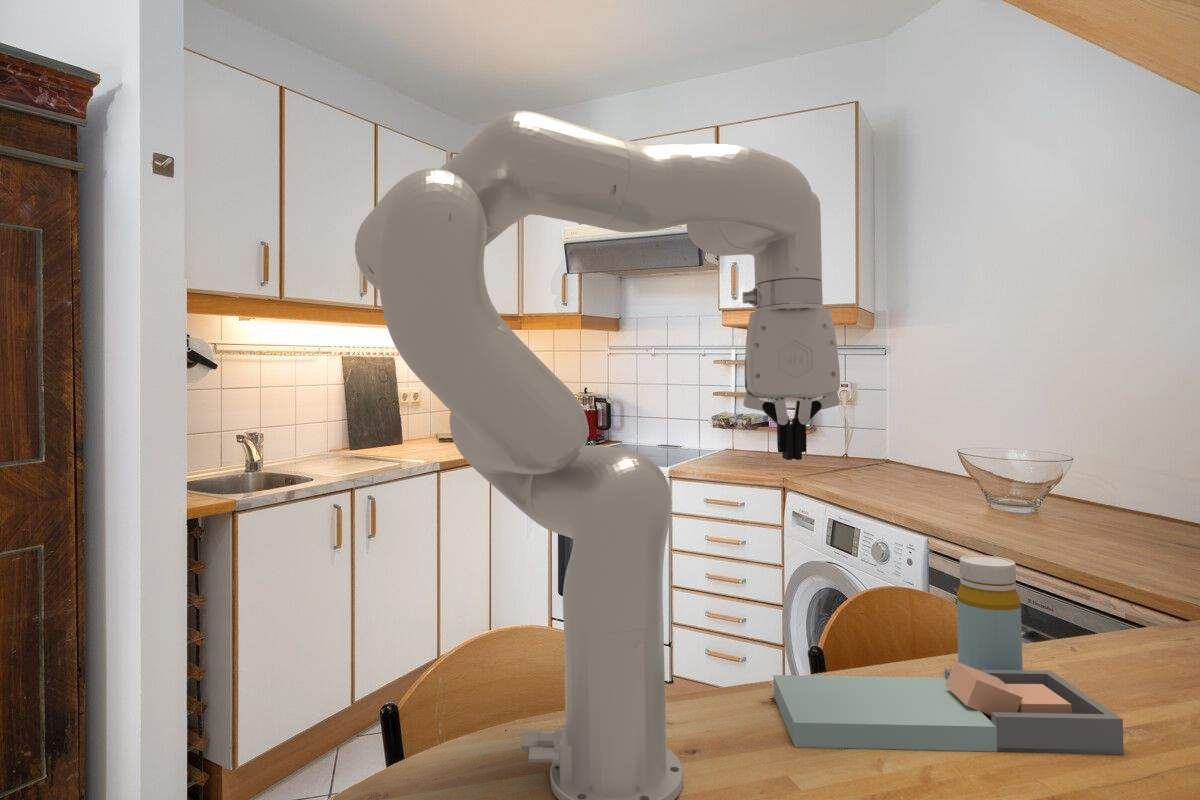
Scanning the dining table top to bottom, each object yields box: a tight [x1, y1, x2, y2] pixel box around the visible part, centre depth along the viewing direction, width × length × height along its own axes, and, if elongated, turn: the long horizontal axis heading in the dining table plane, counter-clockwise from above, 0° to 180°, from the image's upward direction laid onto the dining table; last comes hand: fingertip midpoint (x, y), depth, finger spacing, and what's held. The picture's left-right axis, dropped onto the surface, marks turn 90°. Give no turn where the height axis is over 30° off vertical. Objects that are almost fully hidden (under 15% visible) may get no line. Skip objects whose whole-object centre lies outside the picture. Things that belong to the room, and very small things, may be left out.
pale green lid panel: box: [772, 674, 997, 752], centre depth 73 cm, size 20×12×2 cm, turn 85°
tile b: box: [1006, 684, 1072, 714], centre depth 72 cm, size 5×5×3 cm
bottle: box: [956, 554, 1024, 670], centre depth 84 cm, size 7×7×15 cm
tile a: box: [945, 660, 1023, 715], centre depth 72 cm, size 5×5×3 cm
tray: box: [943, 668, 1125, 755], centre depth 72 cm, size 12×12×4 cm
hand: (792, 458), depth 76 cm, fingers closed
